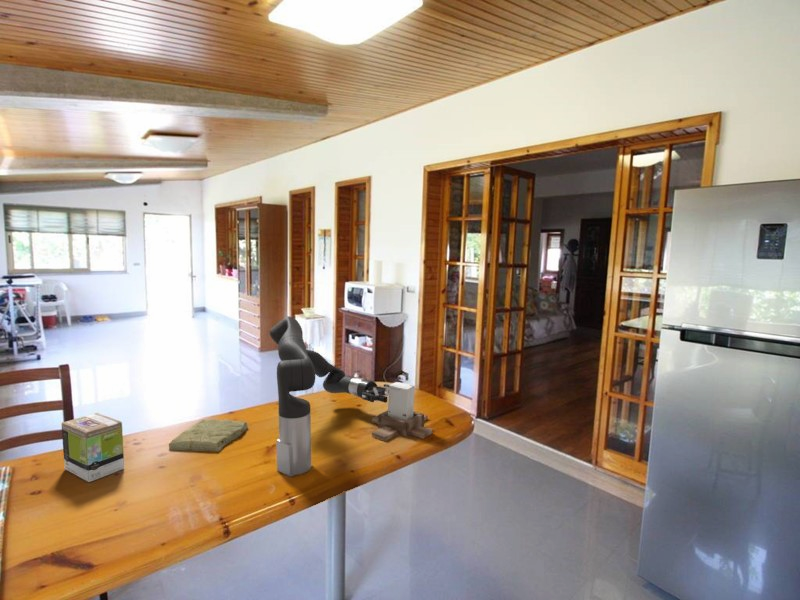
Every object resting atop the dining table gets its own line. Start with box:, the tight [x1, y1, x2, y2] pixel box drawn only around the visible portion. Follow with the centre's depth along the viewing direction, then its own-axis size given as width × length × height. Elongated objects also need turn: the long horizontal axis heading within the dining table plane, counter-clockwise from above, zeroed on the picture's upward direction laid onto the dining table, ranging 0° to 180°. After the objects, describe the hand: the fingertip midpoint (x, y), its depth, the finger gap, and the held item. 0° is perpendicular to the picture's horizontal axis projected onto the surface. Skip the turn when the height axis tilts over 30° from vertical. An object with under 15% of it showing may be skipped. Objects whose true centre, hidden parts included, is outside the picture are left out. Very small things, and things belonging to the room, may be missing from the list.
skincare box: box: [387, 381, 416, 421], centre depth 159 cm, size 8×6×15 cm
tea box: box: [61, 412, 125, 483], centre depth 127 cm, size 15×10×15 cm
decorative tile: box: [168, 418, 249, 453], centre depth 150 cm, size 19×20×4 cm
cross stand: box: [371, 410, 433, 442], centre depth 160 cm, size 26×24×5 cm
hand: (394, 396), depth 161 cm, fingers open, 8 cm apart
